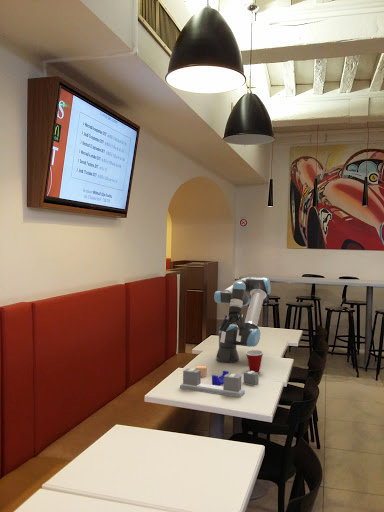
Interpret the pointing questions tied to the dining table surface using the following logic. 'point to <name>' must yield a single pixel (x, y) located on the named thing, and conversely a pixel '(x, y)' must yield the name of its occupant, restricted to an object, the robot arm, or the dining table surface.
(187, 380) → the rail fixture
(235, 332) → the robot arm
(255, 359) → the plastic cup
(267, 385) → the dining table surface
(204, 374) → the terminal block
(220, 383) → the cable clip
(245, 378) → the block
